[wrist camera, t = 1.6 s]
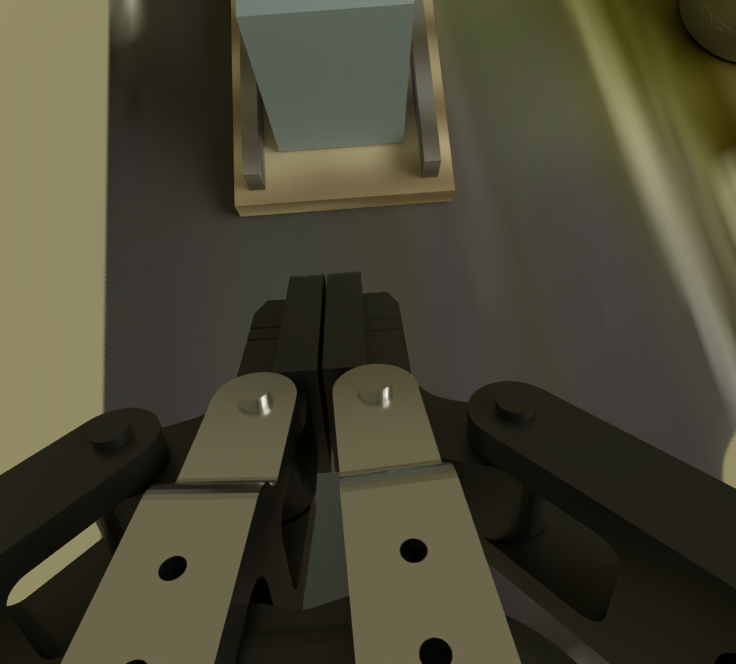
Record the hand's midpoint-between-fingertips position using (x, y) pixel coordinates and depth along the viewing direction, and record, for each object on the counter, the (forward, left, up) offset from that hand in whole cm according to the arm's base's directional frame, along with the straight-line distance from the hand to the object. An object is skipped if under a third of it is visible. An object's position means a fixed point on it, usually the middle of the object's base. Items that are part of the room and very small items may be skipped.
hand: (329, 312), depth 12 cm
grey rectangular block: (-12, -15, -20) cm, 27 cm away
